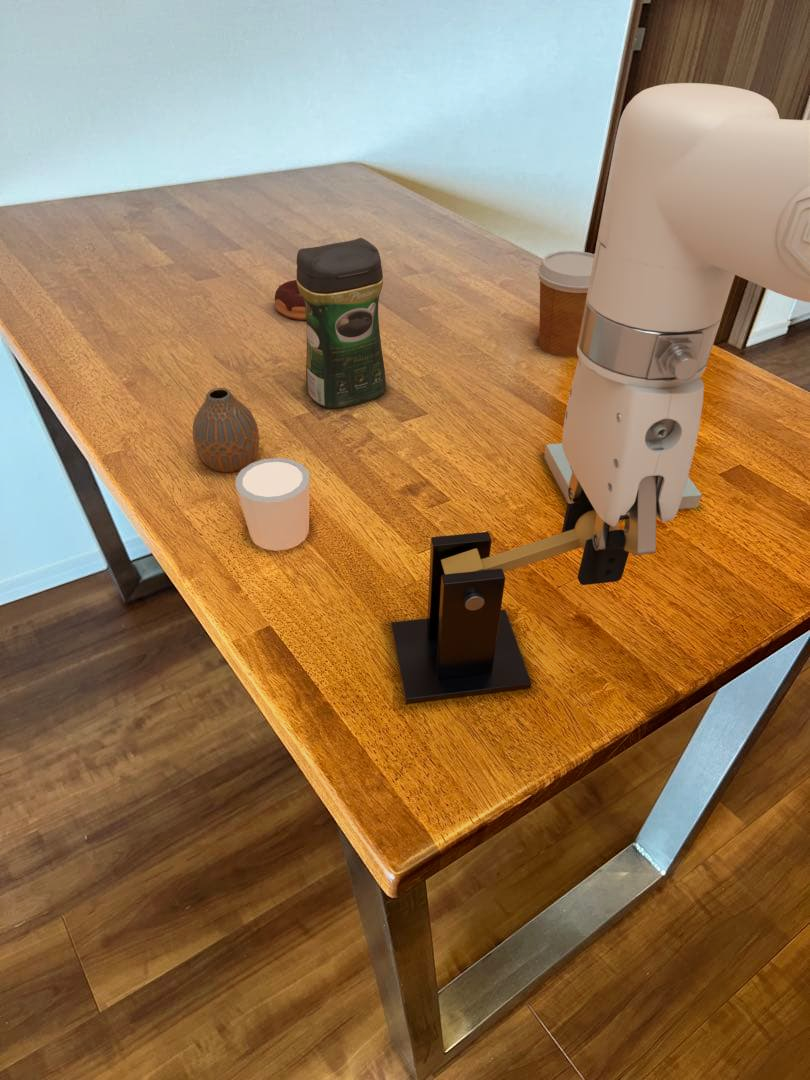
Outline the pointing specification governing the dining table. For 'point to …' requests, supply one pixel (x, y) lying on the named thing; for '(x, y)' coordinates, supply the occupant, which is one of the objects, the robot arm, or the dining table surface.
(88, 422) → the dining table surface
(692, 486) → the square base plate
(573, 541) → the flush lever
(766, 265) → the robot arm
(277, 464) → the pale pink cup
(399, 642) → the lever bracket
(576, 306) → the disposable coffee cup
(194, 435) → the vase
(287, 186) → the dining table surface
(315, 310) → the coffee jar
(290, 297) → the donut
